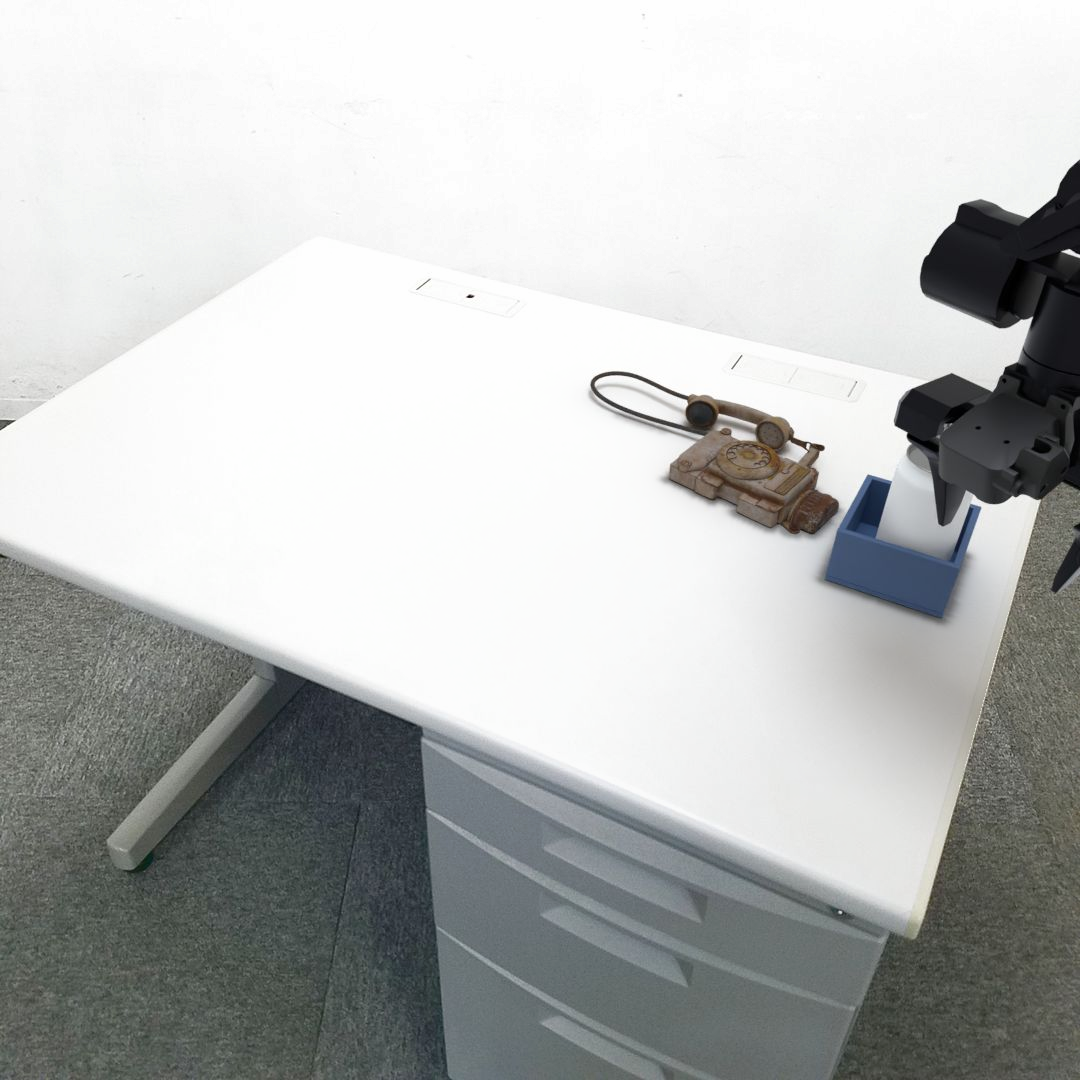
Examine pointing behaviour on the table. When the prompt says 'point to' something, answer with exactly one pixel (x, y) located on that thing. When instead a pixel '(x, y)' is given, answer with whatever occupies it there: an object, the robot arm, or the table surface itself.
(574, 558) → the table surface
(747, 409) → the telephone
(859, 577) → the bin
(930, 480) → the can
